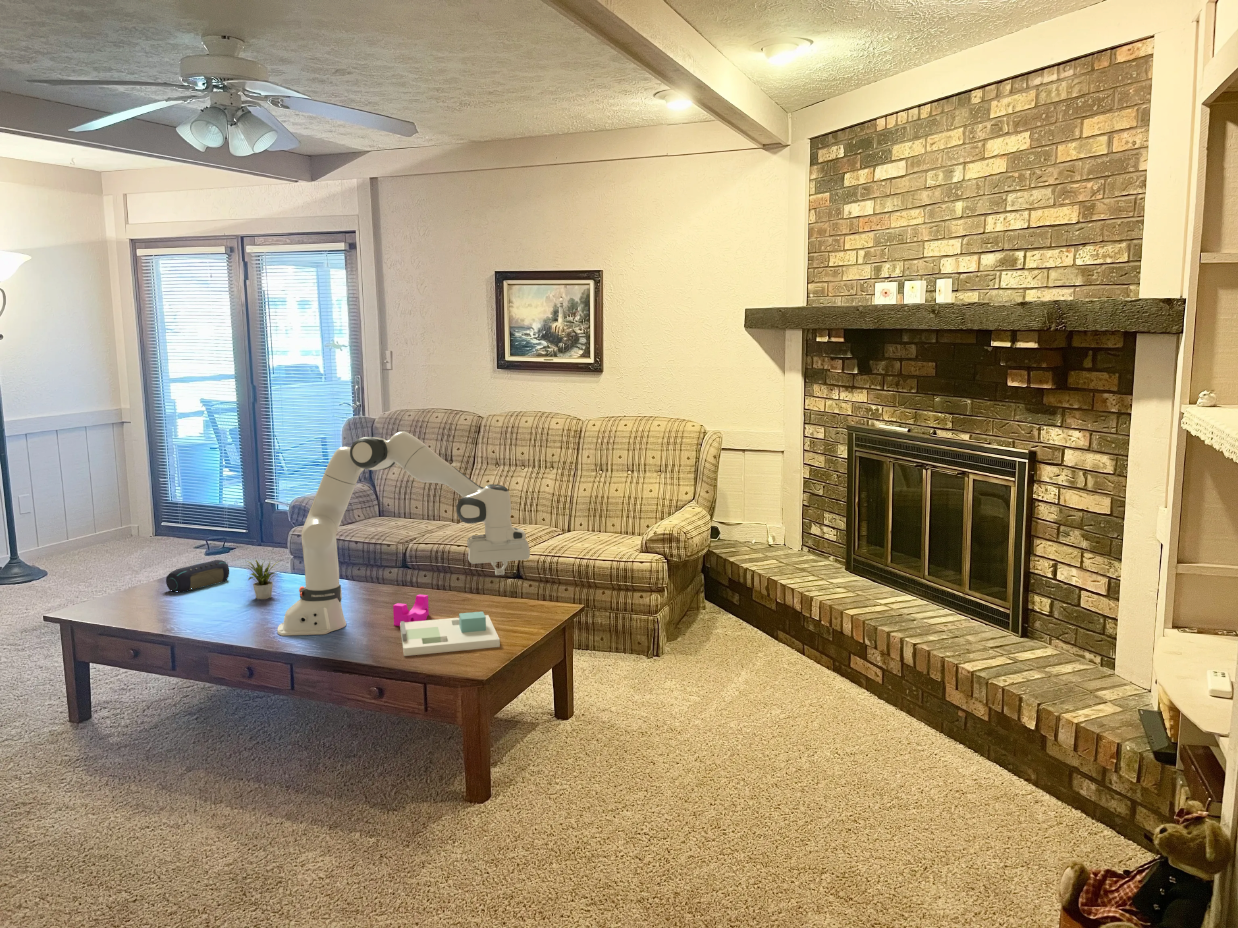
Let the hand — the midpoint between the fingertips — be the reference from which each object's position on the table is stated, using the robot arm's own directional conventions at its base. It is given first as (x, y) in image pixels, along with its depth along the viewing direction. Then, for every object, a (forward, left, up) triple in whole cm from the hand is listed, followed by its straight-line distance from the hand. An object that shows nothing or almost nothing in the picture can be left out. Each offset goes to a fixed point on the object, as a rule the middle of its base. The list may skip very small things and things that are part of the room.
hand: (499, 574), depth 308 cm
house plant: (-83, +70, -20) cm, 111 cm away
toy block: (-27, +24, -21) cm, 42 cm away
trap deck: (-18, 0, -20) cm, 27 cm away
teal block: (-10, 0, -18) cm, 20 cm away
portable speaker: (-108, +96, -21) cm, 146 cm away
